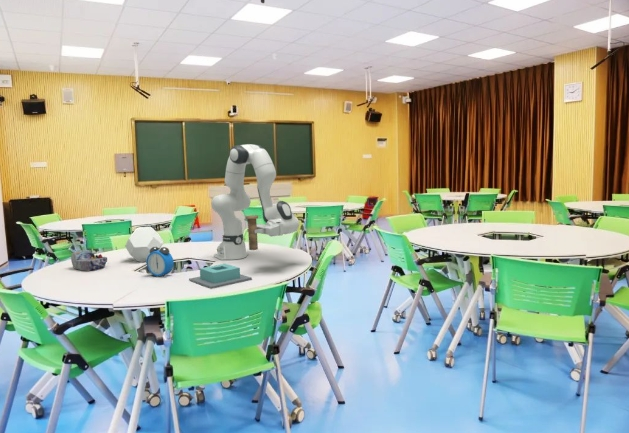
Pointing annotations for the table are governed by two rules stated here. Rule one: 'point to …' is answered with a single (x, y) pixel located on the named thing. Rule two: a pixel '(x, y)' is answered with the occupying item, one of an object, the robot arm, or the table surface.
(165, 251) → the alarm clock
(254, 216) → the pin
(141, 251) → the geometric form
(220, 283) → the socket board
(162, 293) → the table surface
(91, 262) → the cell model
